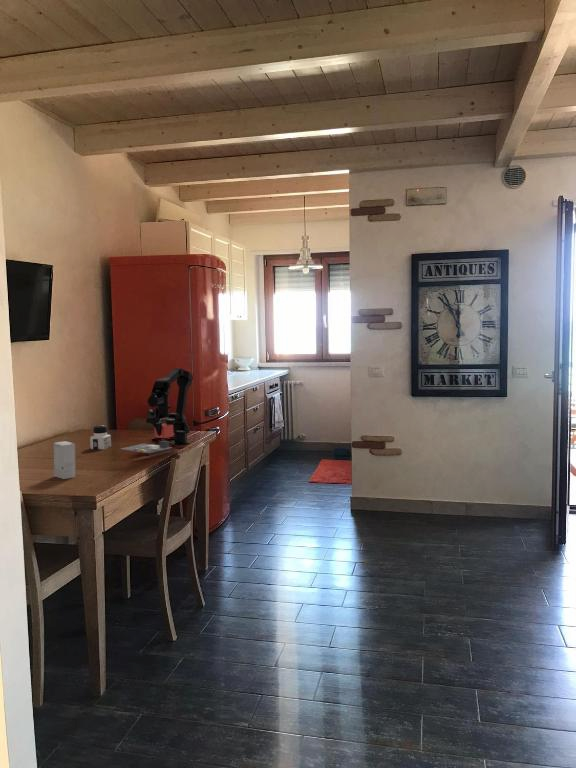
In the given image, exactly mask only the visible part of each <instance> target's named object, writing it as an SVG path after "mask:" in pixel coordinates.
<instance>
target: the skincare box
mask: <svg viewBox="0 0 576 768" xmlns="http://www.w3.org/2000/svg"><path fill="white" fill-rule="evenodd" d="M53 477H55V478H59V479H62V480H66V479H67V480H68V479H71V478H75V477H76V444H75V443H73V442H70V441H65V440H63V441H56V442H53Z"/></svg>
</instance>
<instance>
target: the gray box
mask: <svg viewBox="0 0 576 768" xmlns="http://www.w3.org/2000/svg"><path fill="white" fill-rule="evenodd" d="M158 443H159V444H158V445H159V446H160V447H162V448H167V447H170V441H169V440H160V441H159V442H158Z"/></svg>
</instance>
